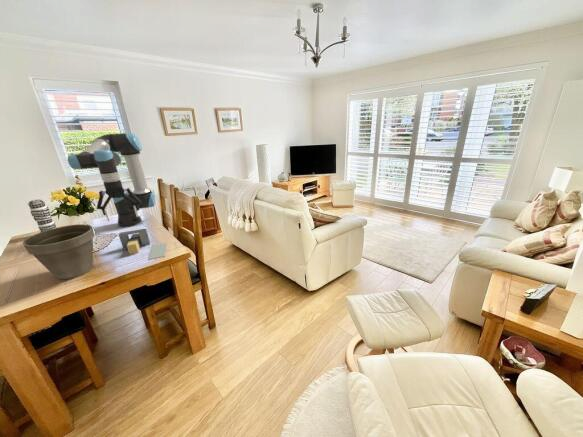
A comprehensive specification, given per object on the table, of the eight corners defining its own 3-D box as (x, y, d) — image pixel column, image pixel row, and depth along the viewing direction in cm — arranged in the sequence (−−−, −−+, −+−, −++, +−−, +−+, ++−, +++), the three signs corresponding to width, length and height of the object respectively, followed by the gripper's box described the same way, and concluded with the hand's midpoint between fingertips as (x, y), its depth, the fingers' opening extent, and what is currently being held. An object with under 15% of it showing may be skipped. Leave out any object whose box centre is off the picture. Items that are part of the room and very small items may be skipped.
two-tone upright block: (134, 242, 151) (132, 234, 149) (143, 241, 153) (140, 233, 150) (129, 254, 137) (126, 245, 135) (138, 253, 139) (135, 244, 137)
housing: (124, 247, 146) (119, 232, 142) (150, 242, 151) (146, 228, 147) (123, 249, 143) (118, 234, 140) (149, 244, 148) (145, 230, 144)
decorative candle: (61, 233, 169) (46, 199, 159) (44, 238, 161) (27, 203, 152) (57, 230, 173) (42, 197, 164) (40, 235, 166) (23, 201, 156)
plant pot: (104, 253, 140) (91, 219, 131) (106, 272, 122) (91, 234, 113) (46, 269, 125) (27, 232, 117) (39, 293, 107) (16, 252, 99)
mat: (152, 245, 147) (152, 245, 147) (167, 242, 150) (166, 242, 150) (148, 259, 132) (148, 259, 131) (164, 256, 134) (164, 256, 134)
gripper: (79, 185, 117) (94, 224, 125) (137, 179, 125) (148, 216, 133) (85, 182, 123) (99, 219, 131) (140, 176, 132) (150, 212, 140)
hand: (123, 218), depth 132 cm, fingers open, 13 cm apart
